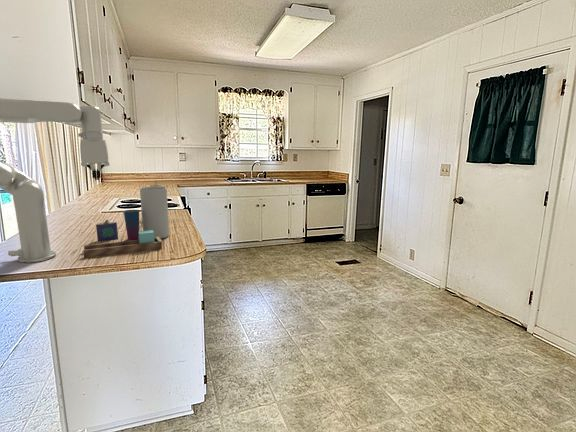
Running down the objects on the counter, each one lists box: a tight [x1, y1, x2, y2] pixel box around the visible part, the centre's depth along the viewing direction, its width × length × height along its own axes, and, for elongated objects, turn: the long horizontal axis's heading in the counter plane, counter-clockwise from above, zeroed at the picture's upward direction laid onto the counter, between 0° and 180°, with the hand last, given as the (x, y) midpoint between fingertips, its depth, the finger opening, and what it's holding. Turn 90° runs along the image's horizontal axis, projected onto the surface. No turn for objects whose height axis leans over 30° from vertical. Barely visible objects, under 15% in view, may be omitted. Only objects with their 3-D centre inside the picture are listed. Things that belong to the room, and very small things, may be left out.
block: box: [138, 230, 155, 244], centre depth 151 cm, size 6×5×7 cm
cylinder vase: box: [139, 186, 170, 240], centre depth 171 cm, size 12×12×25 cm
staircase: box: [149, 179, 166, 187], centre depth 213 cm, size 8×12×26 cm
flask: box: [95, 219, 119, 242], centre depth 163 cm, size 9×3×11 cm, turn 135°
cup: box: [123, 209, 140, 241], centre depth 164 cm, size 7×7×15 cm
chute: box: [82, 237, 163, 259], centre depth 147 cm, size 30×10×4 cm, turn 118°
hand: (97, 179), depth 147 cm, fingers closed
